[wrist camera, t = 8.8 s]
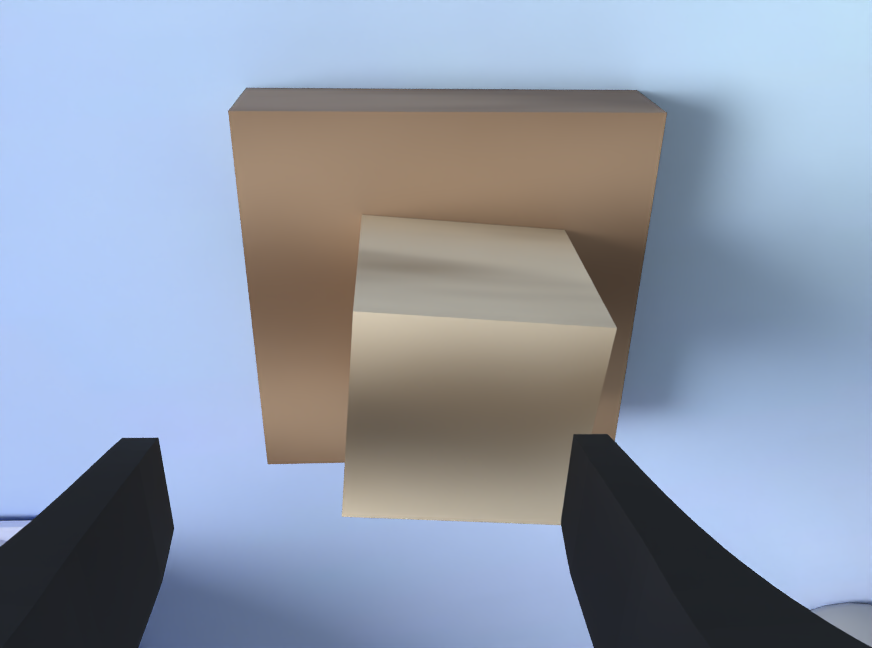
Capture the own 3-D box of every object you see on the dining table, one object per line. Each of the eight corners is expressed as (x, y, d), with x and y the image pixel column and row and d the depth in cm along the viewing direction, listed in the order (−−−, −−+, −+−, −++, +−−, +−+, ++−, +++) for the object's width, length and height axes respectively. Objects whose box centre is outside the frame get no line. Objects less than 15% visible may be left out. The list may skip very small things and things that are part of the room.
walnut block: (588, 399, 25) (612, 456, 23) (280, 404, 25) (267, 464, 22) (630, 85, 20) (666, 112, 18) (249, 83, 20) (228, 111, 17)
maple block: (532, 398, 21) (569, 525, 17) (352, 388, 21) (342, 516, 16) (565, 230, 19) (616, 328, 15) (361, 214, 18) (352, 311, 14)
